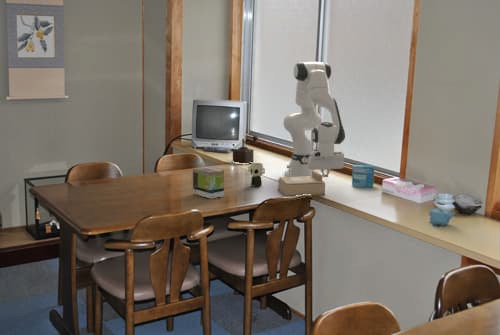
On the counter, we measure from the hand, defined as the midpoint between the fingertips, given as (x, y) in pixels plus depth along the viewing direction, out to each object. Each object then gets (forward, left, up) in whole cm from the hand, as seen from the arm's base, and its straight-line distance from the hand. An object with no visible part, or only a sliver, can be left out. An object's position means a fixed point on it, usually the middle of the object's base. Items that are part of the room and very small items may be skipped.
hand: (325, 176), depth 355 cm
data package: (-8, +25, -8) cm, 28 cm away
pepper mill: (-88, -27, -8) cm, 92 cm away
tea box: (-2, -65, -9) cm, 65 cm away
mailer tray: (0, -14, -8) cm, 16 cm away
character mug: (-19, -35, -8) cm, 40 cm away
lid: (0, -14, -1) cm, 14 cm away
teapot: (+71, +32, -9) cm, 79 cm away
